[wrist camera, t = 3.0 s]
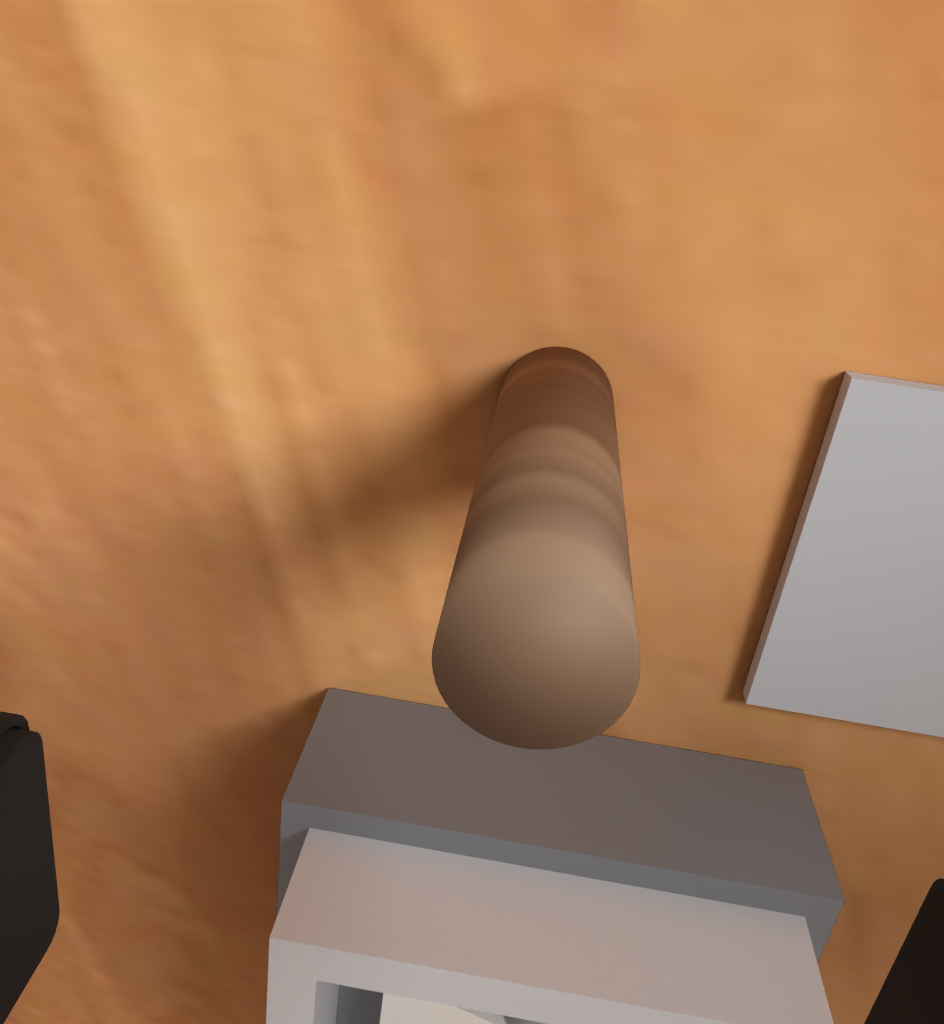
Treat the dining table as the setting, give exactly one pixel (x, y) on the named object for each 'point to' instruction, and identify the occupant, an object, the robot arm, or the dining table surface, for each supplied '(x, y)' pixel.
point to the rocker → (437, 1013)
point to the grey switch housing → (543, 878)
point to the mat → (865, 569)
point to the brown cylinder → (543, 566)
